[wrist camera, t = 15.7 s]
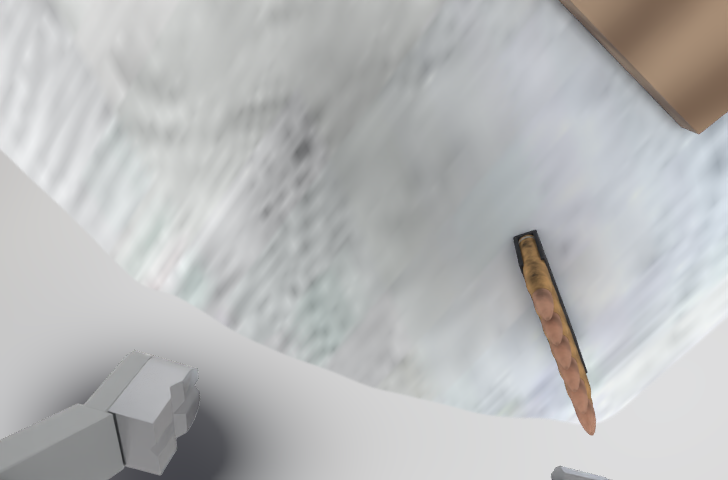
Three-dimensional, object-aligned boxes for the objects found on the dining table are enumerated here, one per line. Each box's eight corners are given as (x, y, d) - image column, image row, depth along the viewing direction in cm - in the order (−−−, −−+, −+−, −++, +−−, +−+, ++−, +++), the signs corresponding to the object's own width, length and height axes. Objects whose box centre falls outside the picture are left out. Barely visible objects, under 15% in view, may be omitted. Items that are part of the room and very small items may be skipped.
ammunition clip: (576, 339, 42) (611, 443, 31) (554, 344, 43) (581, 448, 32) (535, 229, 39) (558, 301, 28) (512, 236, 40) (526, 310, 29)
